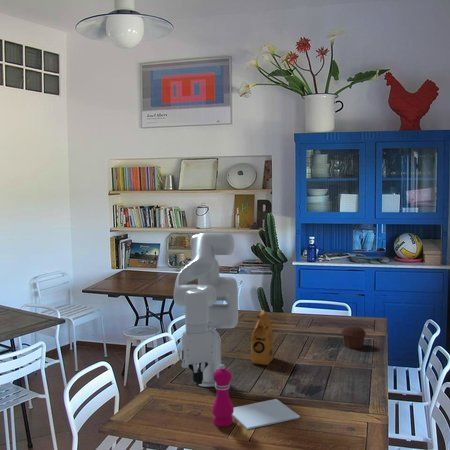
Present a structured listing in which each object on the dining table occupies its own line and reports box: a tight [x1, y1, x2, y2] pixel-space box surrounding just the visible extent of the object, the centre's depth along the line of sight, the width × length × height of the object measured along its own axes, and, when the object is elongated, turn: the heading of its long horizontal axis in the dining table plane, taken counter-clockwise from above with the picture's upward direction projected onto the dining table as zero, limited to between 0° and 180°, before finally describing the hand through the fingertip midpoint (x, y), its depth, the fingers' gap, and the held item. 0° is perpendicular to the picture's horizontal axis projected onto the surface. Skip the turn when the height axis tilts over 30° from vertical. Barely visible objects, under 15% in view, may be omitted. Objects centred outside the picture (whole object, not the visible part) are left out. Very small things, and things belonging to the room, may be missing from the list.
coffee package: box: [250, 309, 274, 366], centre depth 236 cm, size 10×12×22 cm
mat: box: [231, 398, 301, 430], centre depth 182 cm, size 16×20×1 cm
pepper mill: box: [211, 363, 234, 428], centre depth 175 cm, size 7×7×20 cm
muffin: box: [340, 324, 367, 350], centre depth 256 cm, size 12×11×10 cm
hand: (198, 383), depth 171 cm, fingers closed
